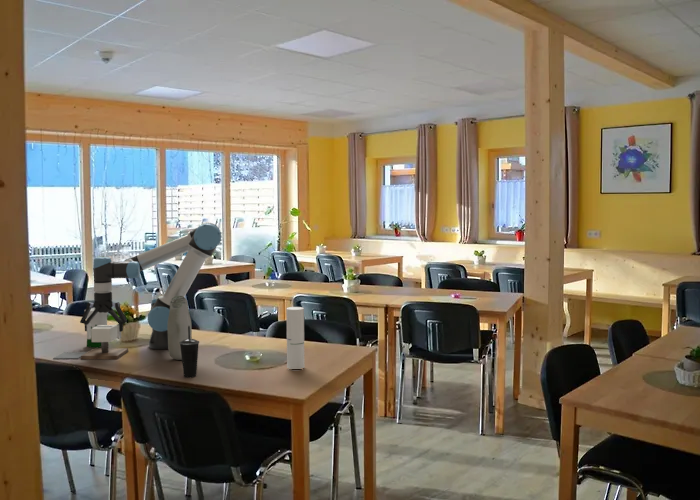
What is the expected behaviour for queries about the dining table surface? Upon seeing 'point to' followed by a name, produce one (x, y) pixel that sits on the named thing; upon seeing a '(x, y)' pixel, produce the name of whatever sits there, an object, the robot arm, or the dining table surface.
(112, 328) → the white drawer box
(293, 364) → the cylindrical container
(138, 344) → the dining table surface
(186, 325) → the grey bottle
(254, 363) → the dining table surface
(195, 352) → the drinking cup
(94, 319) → the milk carton
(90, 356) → the post stand
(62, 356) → the mat
